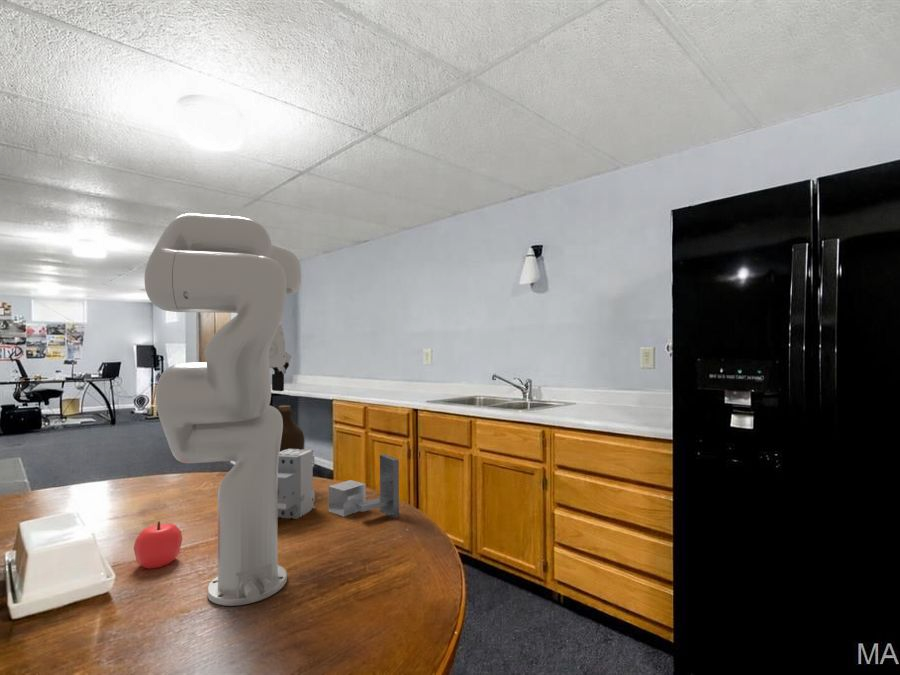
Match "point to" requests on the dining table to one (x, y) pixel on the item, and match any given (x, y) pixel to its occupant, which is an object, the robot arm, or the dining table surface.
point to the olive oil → (290, 431)
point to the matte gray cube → (346, 497)
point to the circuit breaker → (295, 483)
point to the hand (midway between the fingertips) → (262, 393)
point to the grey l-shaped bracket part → (386, 489)
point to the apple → (158, 545)
